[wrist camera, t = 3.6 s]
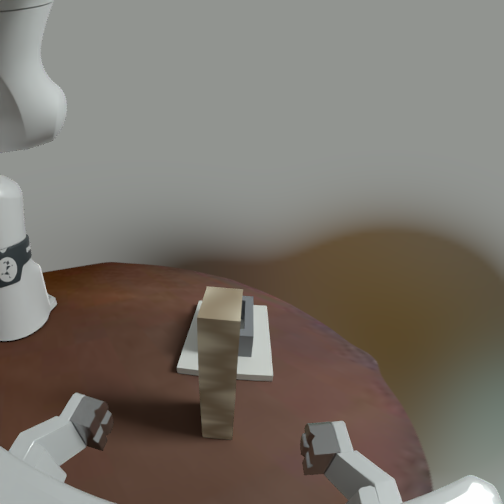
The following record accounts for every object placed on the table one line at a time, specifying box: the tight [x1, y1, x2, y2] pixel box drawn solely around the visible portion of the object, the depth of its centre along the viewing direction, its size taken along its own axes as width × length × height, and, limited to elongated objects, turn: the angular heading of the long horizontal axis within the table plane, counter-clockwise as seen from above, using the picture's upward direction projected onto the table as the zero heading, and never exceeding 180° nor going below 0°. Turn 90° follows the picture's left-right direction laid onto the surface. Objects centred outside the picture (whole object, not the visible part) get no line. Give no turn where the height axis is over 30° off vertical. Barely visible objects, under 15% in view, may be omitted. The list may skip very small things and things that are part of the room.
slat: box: [197, 287, 243, 440], centre depth 24 cm, size 3×5×15 cm, turn 0°
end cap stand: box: [177, 296, 273, 381], centre depth 40 cm, size 12×18×4 cm, turn 0°
